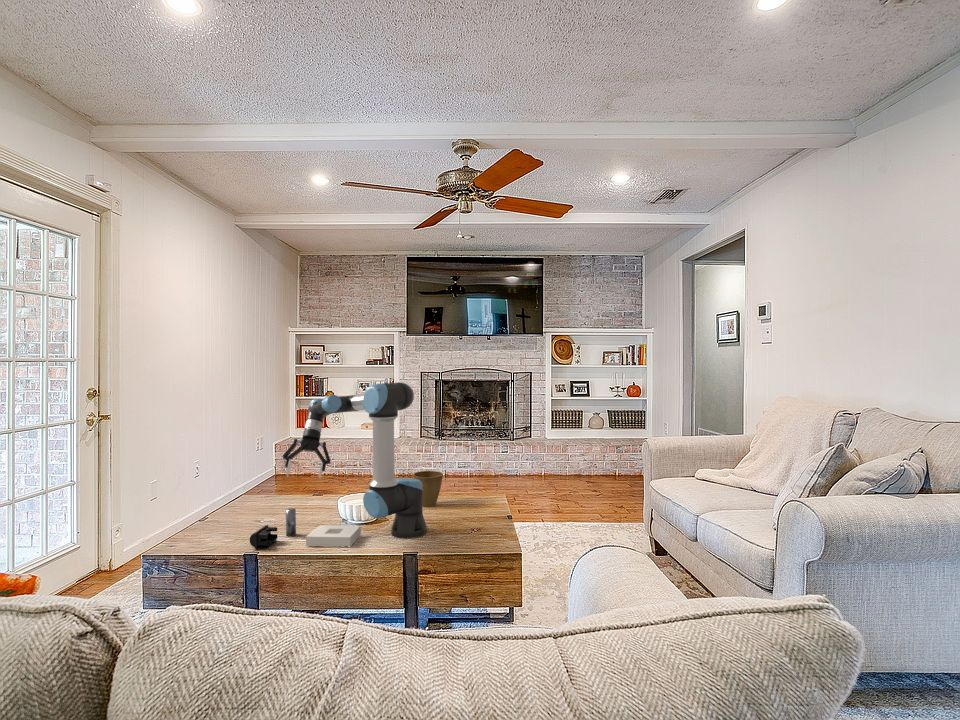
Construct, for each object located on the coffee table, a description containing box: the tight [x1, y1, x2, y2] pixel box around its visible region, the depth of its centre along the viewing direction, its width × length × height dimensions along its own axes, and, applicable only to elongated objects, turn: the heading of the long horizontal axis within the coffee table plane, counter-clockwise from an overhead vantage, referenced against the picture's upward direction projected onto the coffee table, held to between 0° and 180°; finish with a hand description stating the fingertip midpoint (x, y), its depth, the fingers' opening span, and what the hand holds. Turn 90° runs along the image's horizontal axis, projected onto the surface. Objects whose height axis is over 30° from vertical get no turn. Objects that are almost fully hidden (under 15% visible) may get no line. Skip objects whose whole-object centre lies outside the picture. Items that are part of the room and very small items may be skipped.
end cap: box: [249, 524, 278, 550], centre depth 216 cm, size 10×7×7 cm
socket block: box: [305, 524, 362, 548], centre depth 219 cm, size 18×14×4 cm
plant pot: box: [412, 470, 444, 508], centre depth 270 cm, size 15×15×16 cm
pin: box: [285, 507, 297, 537], centre depth 227 cm, size 4×4×11 cm
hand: (303, 476), depth 231 cm, fingers open, 13 cm apart
